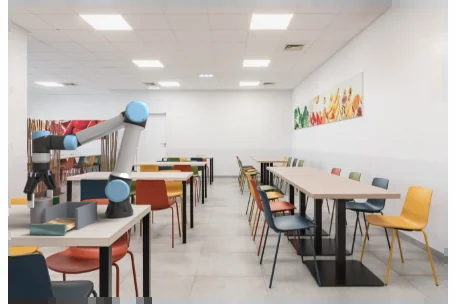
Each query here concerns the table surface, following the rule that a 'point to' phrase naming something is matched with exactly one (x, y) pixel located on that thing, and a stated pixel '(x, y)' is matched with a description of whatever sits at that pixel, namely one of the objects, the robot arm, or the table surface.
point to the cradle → (72, 213)
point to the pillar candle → (39, 209)
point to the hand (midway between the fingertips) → (40, 205)
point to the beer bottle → (54, 194)
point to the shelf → (53, 227)
